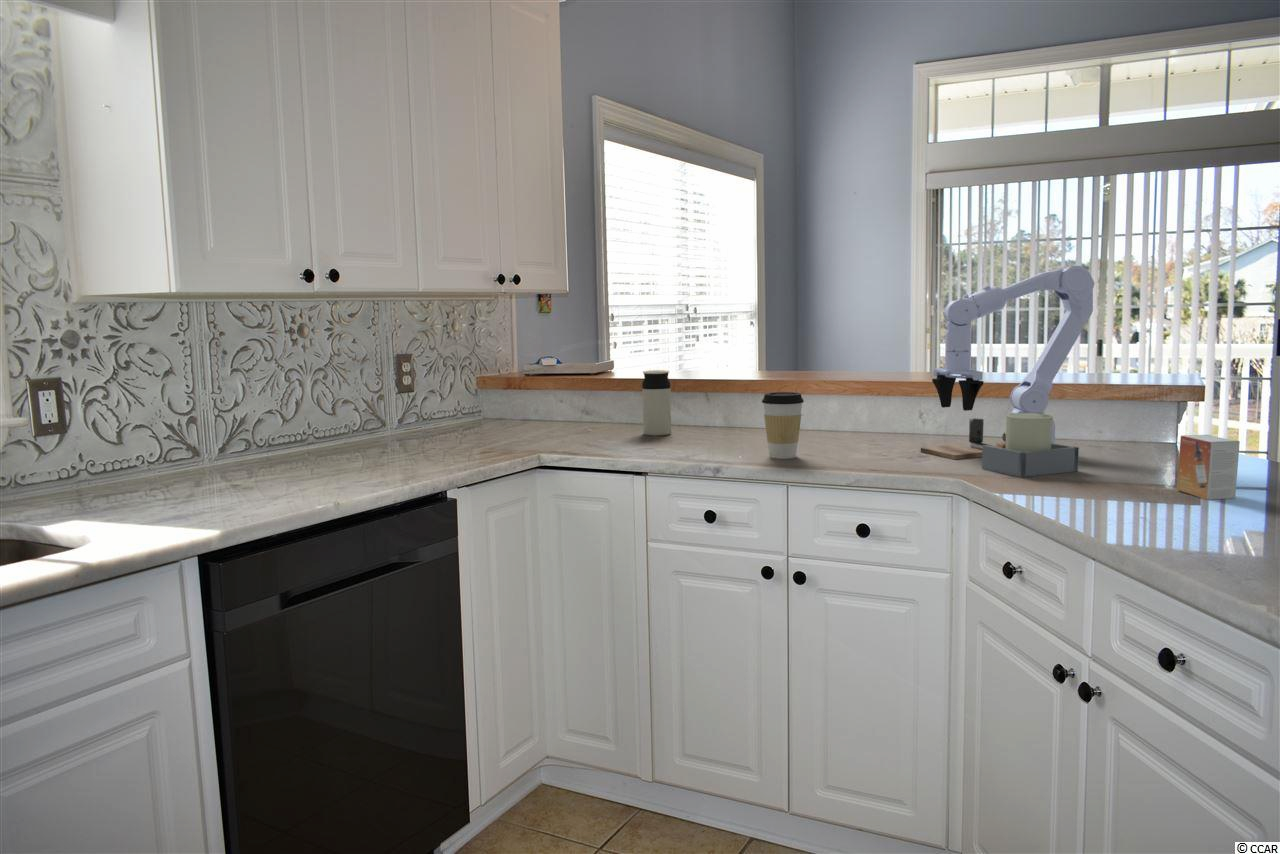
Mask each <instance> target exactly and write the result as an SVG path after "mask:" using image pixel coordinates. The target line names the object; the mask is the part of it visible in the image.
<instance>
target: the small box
mask: <svg viewBox="0 0 1280 854" xmlns="http://www.w3.org/2000/svg"><path fill="white" fill-rule="evenodd" d="M1178 453H1179V455H1178V456H1179V457H1178V470H1177V480H1176V491H1179V492H1183V493H1186V494H1188V495H1191V496H1195V497H1198V498H1201V499H1204V500H1206V501H1209V500H1229V499H1230V500H1232V499H1236V492H1237V491H1236V490H1237V479H1238V467H1239V454H1240V441H1239V440H1238V439H1229V438H1224V437H1219V436H1214V435H1210V434H1186V435H1183V434H1182V435H1180V441H1179V452H1178Z"/></svg>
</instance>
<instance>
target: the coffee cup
mask: <svg viewBox="0 0 1280 854" xmlns="http://www.w3.org/2000/svg"><path fill="white" fill-rule="evenodd" d="M804 402H805V400H804V398H803V397H802V394H801V393H800V392H796V391H795V392H794V391H793V392H792V391H791V392H790V391H780V392H779V391H778V392H776V391H773V392H766V393H764V395H763V398H762V399H761V403H762V404H763V411H764V415H763V416H764V417H763V418H764V424H765V433H766V440H767V444H768V452H769V458H772V459H777V460H778V459H780V460H782V459H783V460H786V459H795V458H796V457H797V451H798V450H797V449H798V443H799V437H800V429H801V421H802V408H803V407H802V406H803V403H804Z"/></svg>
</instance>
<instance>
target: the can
mask: <svg viewBox="0 0 1280 854" xmlns="http://www.w3.org/2000/svg"><path fill="white" fill-rule="evenodd" d="M1046 414H1047V413H1045V414H1039V413H1038V414H1036V413H1014V414H1012V413H1007V414H1006V415H1005V421H1006V422H1005V432H1006V442H1005V443H1006V449H1010V450H1015V451H1020V452H1029V451H1039V450H1049V449H1051V437H1052V420H1054V416H1053V415H1052V414H1048V415H1046Z"/></svg>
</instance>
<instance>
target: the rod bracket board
mask: <svg viewBox="0 0 1280 854" xmlns="http://www.w3.org/2000/svg"><path fill="white" fill-rule="evenodd" d="M920 452H921V453H923V454H924V453H925V454H928V455H934V456H937V457H942V458H947V459H951V460H960V459H961V460H962V459H973V458H982V450H979V449H974V448H971V447H970V446H969V447H968V446H963V445H958V444H947V445H946V444H945V445H936V446H935V445H934V446H927V447H920Z"/></svg>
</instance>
